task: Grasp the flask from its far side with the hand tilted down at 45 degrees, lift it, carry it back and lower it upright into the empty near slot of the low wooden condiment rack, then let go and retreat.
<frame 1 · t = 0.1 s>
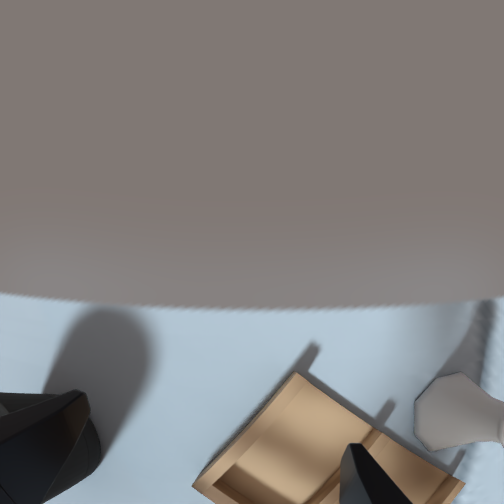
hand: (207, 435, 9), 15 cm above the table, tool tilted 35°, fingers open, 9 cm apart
pen holder: (66, 436, 21), on the table
flask: (444, 411, 21), on the table
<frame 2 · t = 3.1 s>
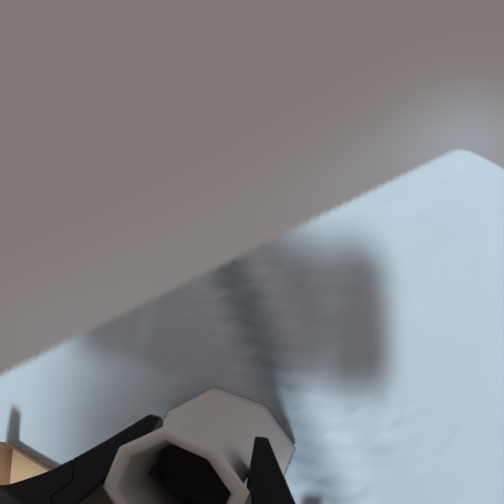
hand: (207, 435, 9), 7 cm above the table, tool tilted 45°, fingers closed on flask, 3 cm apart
flask: (221, 454, 14), on the table, touching gripper
when the fingers open (9 cm above the table, at t = 5.8 s): flask drops 1 cm, resting on rack.
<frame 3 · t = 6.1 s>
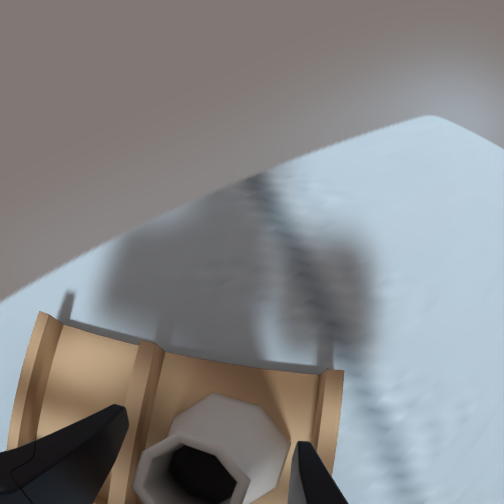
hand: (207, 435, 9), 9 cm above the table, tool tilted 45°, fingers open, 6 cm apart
flask: (224, 453, 15), resting on rack
rack: (225, 459, 15), on the table
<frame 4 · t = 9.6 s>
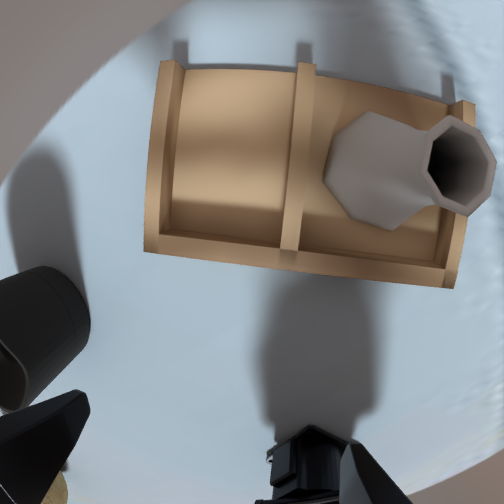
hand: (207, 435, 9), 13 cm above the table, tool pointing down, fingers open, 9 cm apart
pen holder: (57, 309, 24), on the table
flask: (379, 170, 18), resting on rack
rack: (377, 177, 18), on the table
fossilized egg: (49, 459, 32), on the table
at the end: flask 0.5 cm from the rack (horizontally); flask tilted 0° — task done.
